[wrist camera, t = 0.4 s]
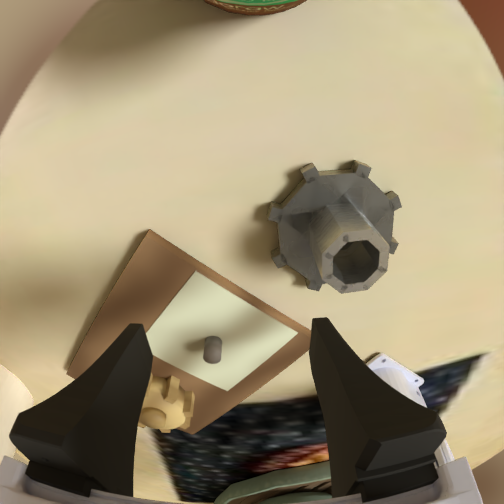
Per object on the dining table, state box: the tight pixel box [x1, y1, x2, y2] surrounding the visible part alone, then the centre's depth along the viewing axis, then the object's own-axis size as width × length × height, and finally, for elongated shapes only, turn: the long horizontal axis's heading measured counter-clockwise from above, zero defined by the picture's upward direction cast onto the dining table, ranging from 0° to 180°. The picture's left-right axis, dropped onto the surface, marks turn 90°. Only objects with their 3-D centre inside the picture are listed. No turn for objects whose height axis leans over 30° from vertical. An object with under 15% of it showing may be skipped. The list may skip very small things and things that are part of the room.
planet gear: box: [267, 160, 402, 294], centre depth 20 cm, size 9×9×5 cm
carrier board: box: [66, 229, 311, 435], centre depth 26 cm, size 16×20×4 cm
